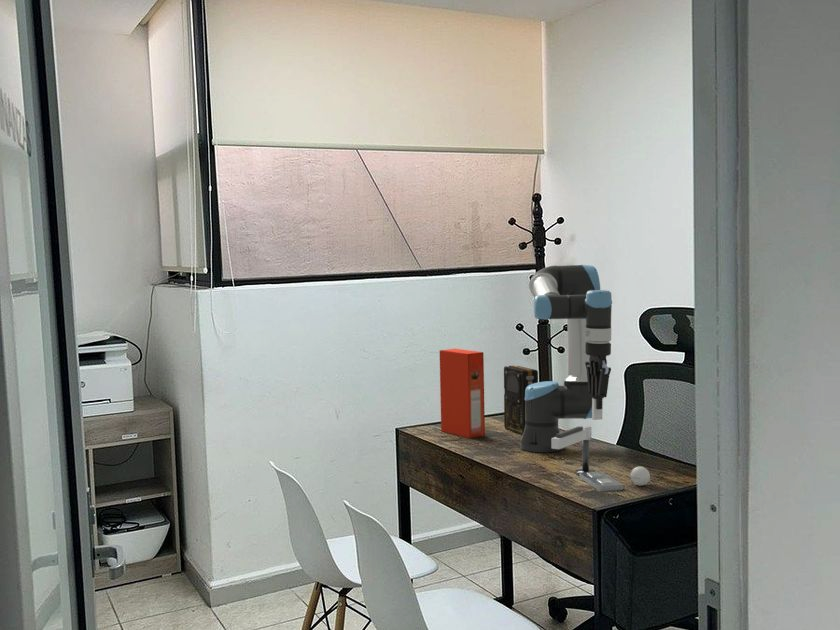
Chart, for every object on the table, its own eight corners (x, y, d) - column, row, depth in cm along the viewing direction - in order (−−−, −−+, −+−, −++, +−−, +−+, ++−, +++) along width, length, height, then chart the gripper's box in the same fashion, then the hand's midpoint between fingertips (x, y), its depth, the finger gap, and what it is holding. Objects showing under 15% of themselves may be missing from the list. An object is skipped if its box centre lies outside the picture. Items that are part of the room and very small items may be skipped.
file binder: (468, 438, 324) (467, 353, 322) (440, 431, 338) (439, 350, 336) (484, 435, 329) (484, 352, 327) (456, 428, 343) (455, 348, 341)
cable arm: (583, 437, 271) (583, 423, 271) (593, 438, 269) (593, 424, 268) (549, 449, 255) (549, 434, 255) (560, 450, 253) (560, 436, 252)
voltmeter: (501, 428, 341) (501, 365, 340) (520, 426, 345) (520, 364, 343) (521, 436, 327) (521, 370, 325) (541, 433, 330) (540, 369, 329)
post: (573, 472, 272) (572, 438, 271) (590, 471, 273) (590, 437, 272) (580, 477, 266) (580, 442, 265) (598, 475, 267) (598, 441, 266)
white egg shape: (626, 484, 257) (626, 465, 257) (643, 482, 259) (643, 463, 259) (640, 490, 250) (640, 471, 250) (657, 488, 252) (657, 469, 251)
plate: (579, 477, 265) (579, 471, 265) (600, 476, 266) (600, 470, 266) (600, 491, 249) (600, 485, 249) (622, 489, 251) (622, 483, 251)
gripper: (577, 339, 264) (576, 415, 267) (596, 345, 252) (594, 424, 254) (600, 338, 266) (599, 413, 268) (619, 344, 253) (618, 423, 256)
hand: (597, 419), depth 261 cm, fingers closed
